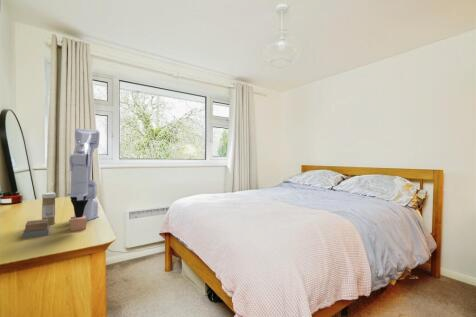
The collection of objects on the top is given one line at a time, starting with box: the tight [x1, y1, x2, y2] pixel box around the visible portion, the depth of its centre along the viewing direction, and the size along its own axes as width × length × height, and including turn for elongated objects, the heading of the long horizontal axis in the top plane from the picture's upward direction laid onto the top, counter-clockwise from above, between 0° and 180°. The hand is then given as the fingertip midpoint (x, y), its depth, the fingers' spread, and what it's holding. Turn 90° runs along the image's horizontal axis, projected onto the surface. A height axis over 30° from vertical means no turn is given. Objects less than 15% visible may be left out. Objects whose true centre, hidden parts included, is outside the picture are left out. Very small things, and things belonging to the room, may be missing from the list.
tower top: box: [24, 219, 48, 232], centre depth 86 cm, size 6×6×2 cm
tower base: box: [22, 225, 50, 239], centre depth 86 cm, size 7×7×2 cm
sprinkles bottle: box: [41, 192, 57, 226], centre depth 98 cm, size 5×5×14 cm
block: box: [70, 216, 87, 232], centre depth 93 cm, size 5×5×4 cm
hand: (78, 215), depth 93 cm, fingers open, 7 cm apart
